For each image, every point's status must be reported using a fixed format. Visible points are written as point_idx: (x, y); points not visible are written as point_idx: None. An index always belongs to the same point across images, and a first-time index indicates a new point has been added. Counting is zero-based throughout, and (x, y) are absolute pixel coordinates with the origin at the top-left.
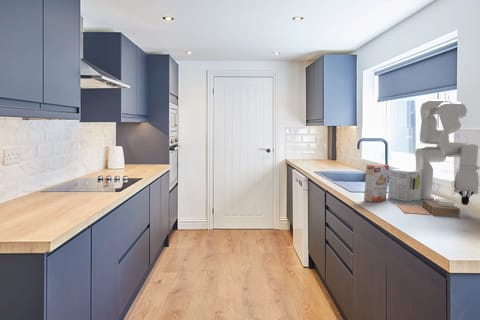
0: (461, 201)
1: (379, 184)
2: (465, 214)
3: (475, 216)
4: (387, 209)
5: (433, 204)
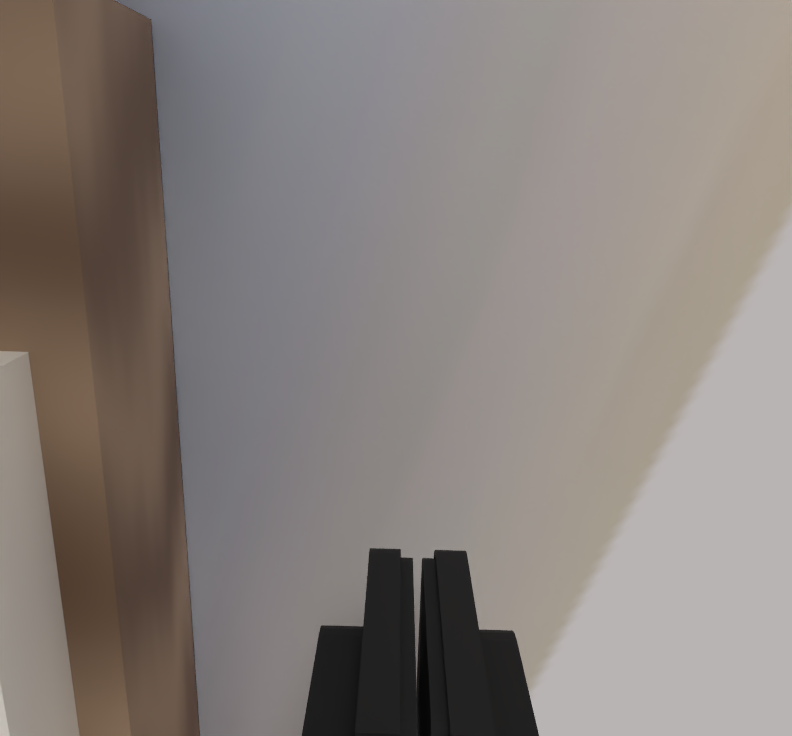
0: (318, 653)
1: None
2: None
3: None
4: None
5: None
